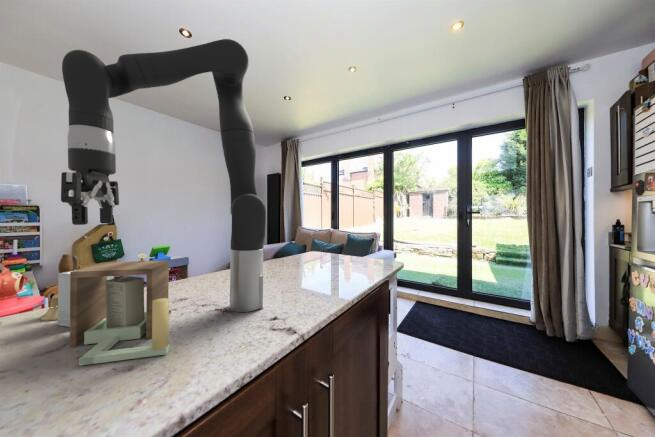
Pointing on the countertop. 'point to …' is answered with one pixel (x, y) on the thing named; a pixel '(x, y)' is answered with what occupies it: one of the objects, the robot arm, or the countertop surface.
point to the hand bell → (52, 313)
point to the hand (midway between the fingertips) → (94, 223)
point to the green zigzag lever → (128, 338)
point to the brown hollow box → (92, 292)
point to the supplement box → (65, 298)
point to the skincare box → (124, 301)
